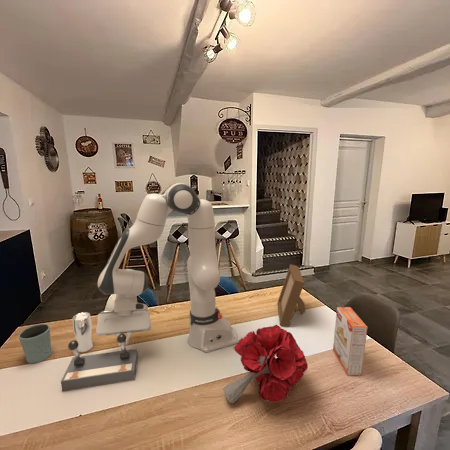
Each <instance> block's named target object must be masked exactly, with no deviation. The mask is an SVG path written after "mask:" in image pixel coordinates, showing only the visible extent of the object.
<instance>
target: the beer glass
mask: <svg viewBox="0 0 450 450" xmlns="http://www.w3.org/2000/svg"><path fill="white" fill-rule="evenodd" d="M92 327H93V323H92V317H91V313H90V312H87V311H83V312H79V313H76V314H75V315H73V317H72V329H73V333H74V336H75V339H76V341H77V342H78V343H79V345H78V351H79V353H85V352H88V351H90V350H91V349H92V348H93V347H94V344H93V340H92V329H93V328H92Z"/></svg>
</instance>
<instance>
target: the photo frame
mask: <svg viewBox="0 0 450 450" xmlns="http://www.w3.org/2000/svg"><path fill="white" fill-rule="evenodd" d="M304 285H305V281H304V277H303V276H302V273H301V271H300V268H299V266H298V265H295V264H291V263H290V264H289V268H288V270H287V272H286V276H285V279H284V282H283V285H282V288H281V291H280V293H279V297H278V299H277V313H278V320H279V321H278V322H279V326H283V327H286V328H289V327H290V325H291V322H292V318H293V315H294V313H295V310H296V307H297V306H298V310H299V313H300V315H303V314H304V313H305V312H306V305H305V301H303V299H302V297H301V296H300V295H301V293H302V291H303V288H304Z"/></svg>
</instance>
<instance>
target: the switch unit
mask: <svg viewBox="0 0 450 450" xmlns="http://www.w3.org/2000/svg"><path fill="white" fill-rule="evenodd" d="M138 350H139V349H138V348H133V349H132V348H131V349H126V351H129V353H130V355H129V358H126V359H120V353H121V352H122V350H116V351H109V352H103V353H94V354H87V355H82V356H81V355H80V357H81V358H85V363H84V365H77V366H74V360H75V356H73V357H72V358H71V361H70V363H69V364H68V366H67V368H66V370H65V373H64V374H63V376H62V378H61V380H60V384H61V385H60V386H61V392H67V391H72V390H79V389H86V388H92V387H96V386H97V387H99V386H104V385H109V384H110V385H111V384H117V383H122V382H130V381H135V378H136V373H137V367H138V361H139V354H138V353H139V351H138Z"/></svg>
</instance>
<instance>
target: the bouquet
mask: <svg viewBox="0 0 450 450" xmlns="http://www.w3.org/2000/svg"><path fill="white" fill-rule="evenodd" d="M233 349H234V351H235V353H236V354H237V355H239V356H240V363H241V365H242V367H243V369H244V370H246V371H247V372H248V373H246V375H244V376H242V377H240V378H238V379H235V380H234V381H232V382H230V383H228V384H226V386H224V388H222V391H223V393H224V395H225V397H226V399H227V400H228V402H229V403H230V404H231V405H232V404H234V403H235V402H236V401H237V400H238V399H239V398H240V397H241V396H242V394H243V393H244V392H245V390H246V388H247V387H248V386H249V385H250V383H252V381H253V380H254V381H256V382H257V383H258V395H259V397H260V399H262V401H266V402H270V403H277V402H282V401H283V400H285V399H286V397H288V396H289V393H290V390H291V389H292V388H293V387H294V386H297V384H298V383H299V381H300V380H302V379H303V376H304V373H305V372H306V371H307V369H308V365H309V364H308V363H307V359H306V355H305V354H304V353H305V352H304V351H303V350H302V349H301V347H300V345H298V343H297V340H296V339H295V337H294V336H293V334H292V333H291V331H287V330H286V329H284V328H282V327H281V325H278V324H274V325H273V326H271V325H270V326H264V327H261V328H258V329H257V330H256V331H254V330H253V331H250V332H248V333H247V334H246V335H245V336H244V337H243V338H240V339H239V340H237V343H236V344H234V346H233Z"/></svg>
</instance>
